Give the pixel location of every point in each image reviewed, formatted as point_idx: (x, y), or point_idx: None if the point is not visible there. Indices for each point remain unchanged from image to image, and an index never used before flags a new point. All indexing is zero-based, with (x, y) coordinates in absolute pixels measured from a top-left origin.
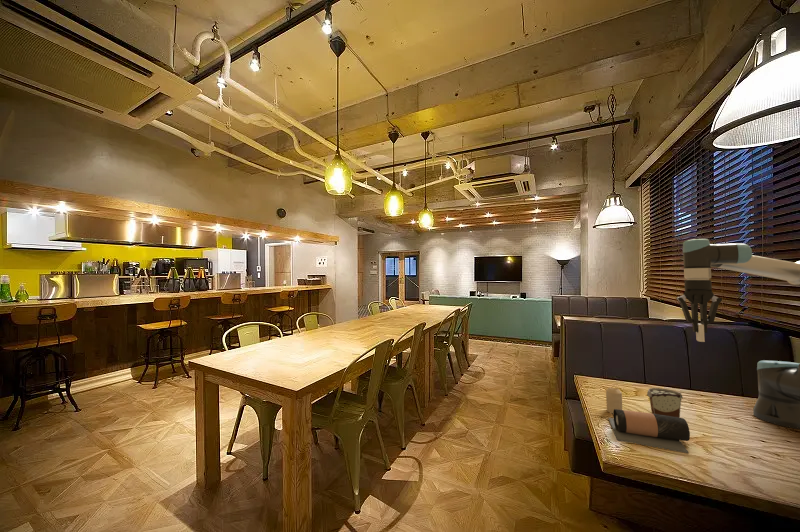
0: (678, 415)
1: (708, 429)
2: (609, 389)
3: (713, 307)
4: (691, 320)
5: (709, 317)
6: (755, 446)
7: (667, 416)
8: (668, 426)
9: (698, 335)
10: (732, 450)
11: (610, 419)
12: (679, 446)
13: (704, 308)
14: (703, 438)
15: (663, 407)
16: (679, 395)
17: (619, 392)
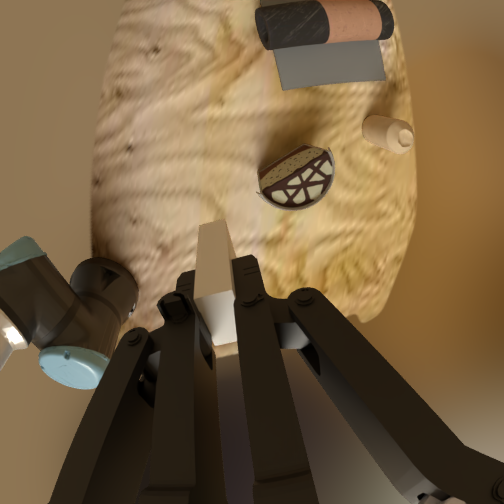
0: (260, 173)
1: (209, 140)
2: (411, 131)
3: (92, 472)
4: (294, 301)
5: (151, 395)
6: (143, 106)
7: (300, 17)
8: (295, 2)
9: (229, 247)
10: (183, 54)
11: (382, 71)
12: (271, 4)
13: (174, 459)
14: (224, 79)
15: (293, 159)
16: (264, 190)
17: (392, 128)
